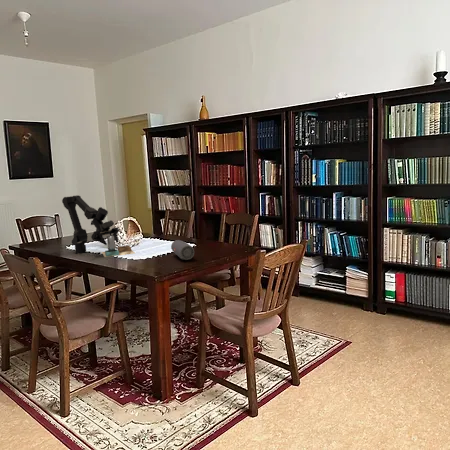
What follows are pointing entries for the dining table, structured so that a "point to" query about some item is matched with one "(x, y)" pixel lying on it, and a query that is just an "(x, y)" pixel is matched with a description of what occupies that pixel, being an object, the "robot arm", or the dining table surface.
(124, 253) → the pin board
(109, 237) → the pin
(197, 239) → the dining table surface
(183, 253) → the bluetooth speaker
